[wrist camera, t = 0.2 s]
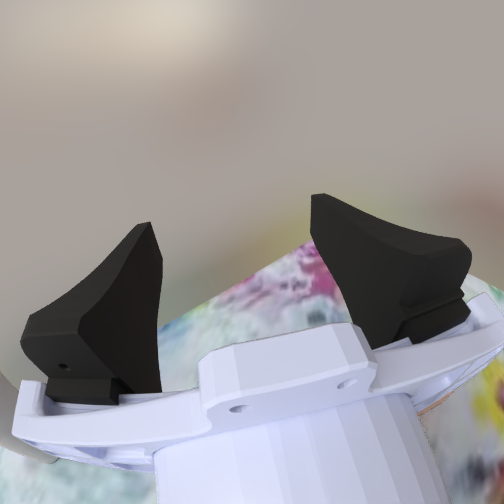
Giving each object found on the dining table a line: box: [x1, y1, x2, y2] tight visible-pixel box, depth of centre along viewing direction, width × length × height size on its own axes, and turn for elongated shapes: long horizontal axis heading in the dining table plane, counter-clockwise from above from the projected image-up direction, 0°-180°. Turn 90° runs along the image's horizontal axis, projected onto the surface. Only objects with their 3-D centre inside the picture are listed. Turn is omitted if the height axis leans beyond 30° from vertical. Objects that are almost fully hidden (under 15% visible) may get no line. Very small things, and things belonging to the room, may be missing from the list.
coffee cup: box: [0, 372, 59, 464], centre depth 15 cm, size 10×10×15 cm
